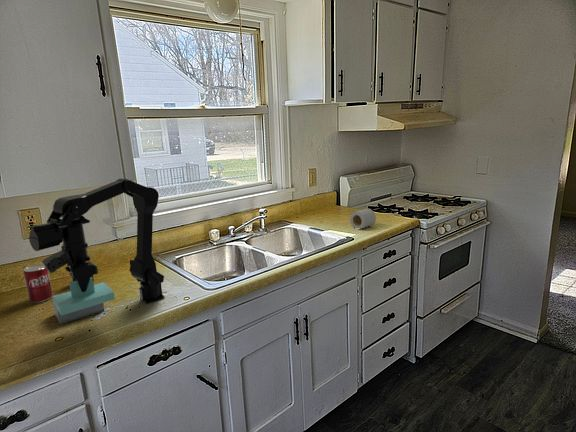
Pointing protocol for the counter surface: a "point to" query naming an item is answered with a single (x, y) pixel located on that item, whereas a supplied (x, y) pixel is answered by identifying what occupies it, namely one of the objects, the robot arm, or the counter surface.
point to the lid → (82, 297)
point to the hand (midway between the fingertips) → (83, 290)
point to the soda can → (37, 283)
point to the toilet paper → (362, 218)
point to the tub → (77, 313)
